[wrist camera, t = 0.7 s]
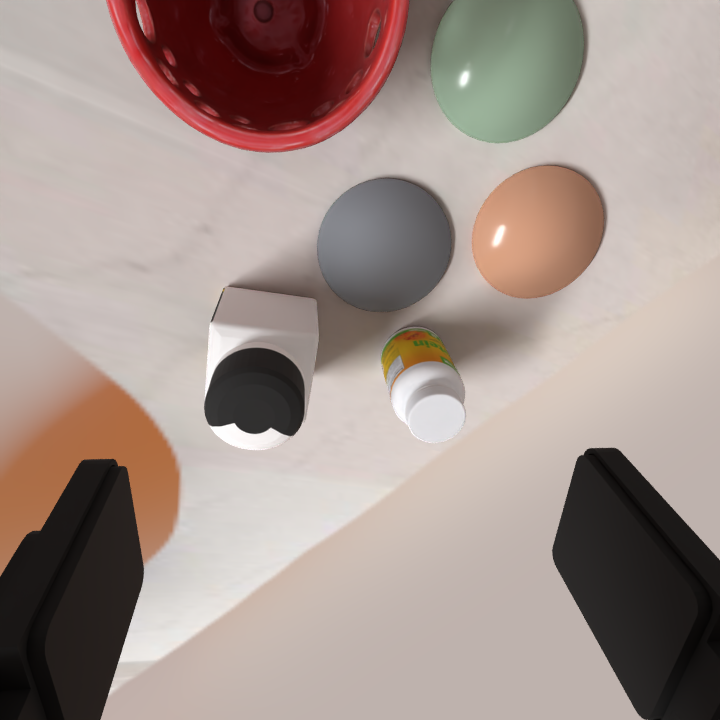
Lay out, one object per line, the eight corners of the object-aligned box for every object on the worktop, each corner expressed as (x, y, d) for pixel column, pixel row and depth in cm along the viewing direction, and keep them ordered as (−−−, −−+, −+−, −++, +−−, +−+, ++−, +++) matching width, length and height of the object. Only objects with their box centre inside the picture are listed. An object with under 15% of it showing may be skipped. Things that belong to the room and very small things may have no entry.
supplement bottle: (455, 337, 45) (491, 399, 36) (425, 390, 47) (453, 460, 38) (397, 315, 43) (420, 374, 35) (369, 370, 45) (384, 439, 37)
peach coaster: (501, 147, 38) (505, 148, 38) (622, 186, 40) (627, 188, 40) (451, 278, 43) (454, 281, 42) (563, 307, 45) (567, 310, 44)
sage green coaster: (461, -57, 33) (465, -60, 32) (605, 0, 35) (611, -2, 34) (409, 117, 37) (411, 118, 36) (539, 159, 39) (543, 160, 38)
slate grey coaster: (337, 160, 38) (337, 161, 37) (468, 198, 40) (471, 201, 39) (303, 291, 42) (303, 295, 41) (423, 320, 44) (425, 324, 43)
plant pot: (157, 106, 35) (93, 119, 24) (170, -155, 29) (95, -288, 19) (354, 151, 37) (373, 180, 27) (402, -83, 32) (451, -164, 21)
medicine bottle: (223, 284, 41) (195, 356, 30) (317, 297, 42) (322, 371, 31) (217, 367, 44) (189, 459, 33) (305, 377, 45) (305, 469, 34)
